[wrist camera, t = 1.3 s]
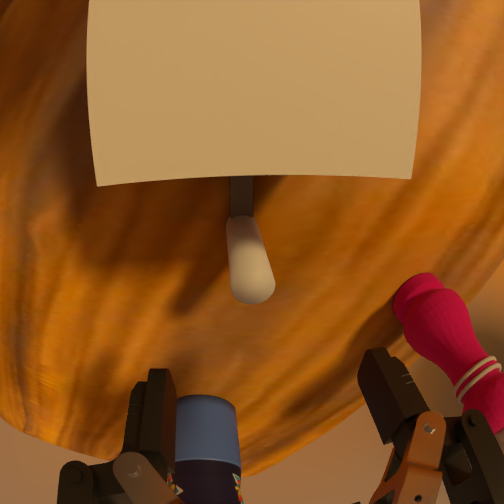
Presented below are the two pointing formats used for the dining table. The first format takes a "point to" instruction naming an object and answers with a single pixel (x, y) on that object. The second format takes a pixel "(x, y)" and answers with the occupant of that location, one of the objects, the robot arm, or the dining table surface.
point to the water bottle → (206, 452)
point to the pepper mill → (451, 345)
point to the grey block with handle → (246, 246)
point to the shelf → (252, 88)
